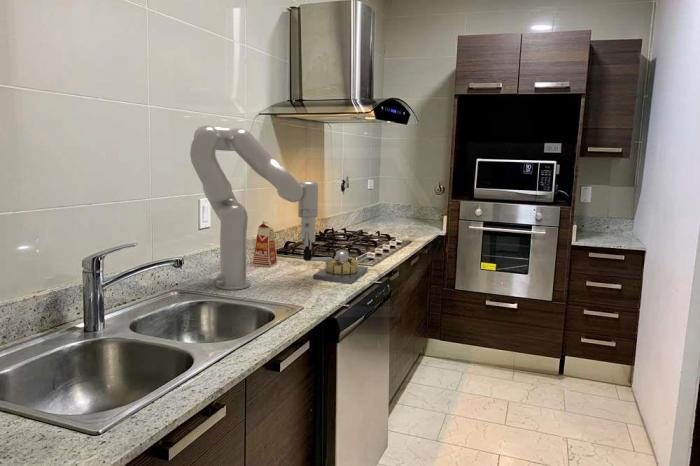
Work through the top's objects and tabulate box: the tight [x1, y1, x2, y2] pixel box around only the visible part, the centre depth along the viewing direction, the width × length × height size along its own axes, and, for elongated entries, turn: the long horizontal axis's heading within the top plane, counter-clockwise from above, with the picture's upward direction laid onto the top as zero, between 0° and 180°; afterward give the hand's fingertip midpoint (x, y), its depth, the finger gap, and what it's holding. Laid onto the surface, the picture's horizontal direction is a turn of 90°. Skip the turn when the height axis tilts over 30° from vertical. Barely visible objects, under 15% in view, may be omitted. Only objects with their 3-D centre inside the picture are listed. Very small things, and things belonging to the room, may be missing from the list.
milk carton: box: [251, 220, 278, 268], centre depth 228 cm, size 9×9×20 cm
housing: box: [312, 250, 369, 285], centre depth 215 cm, size 22×16×10 cm
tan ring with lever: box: [303, 247, 359, 274], centre depth 213 cm, size 23×13×10 cm, turn 107°
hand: (307, 258), depth 204 cm, fingers closed
